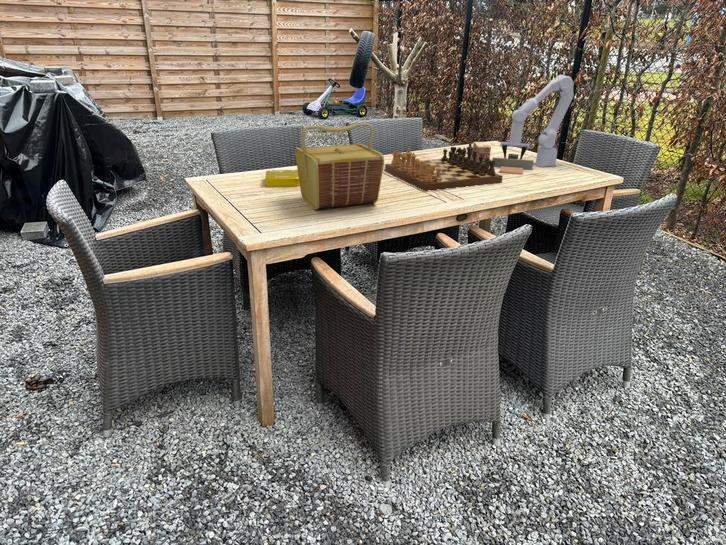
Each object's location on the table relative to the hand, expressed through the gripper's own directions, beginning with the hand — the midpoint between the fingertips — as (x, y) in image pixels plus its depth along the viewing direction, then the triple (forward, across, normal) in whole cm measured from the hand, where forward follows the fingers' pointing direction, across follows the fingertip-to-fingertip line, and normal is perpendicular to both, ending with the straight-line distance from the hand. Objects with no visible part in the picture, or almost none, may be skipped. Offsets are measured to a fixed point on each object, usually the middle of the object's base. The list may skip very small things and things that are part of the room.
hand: (512, 161), depth 268 cm
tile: (+2, 0, -16) cm, 16 cm away
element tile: (+3, -97, -73) cm, 121 cm away
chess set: (+3, -32, -37) cm, 49 cm away
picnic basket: (+2, -64, -92) cm, 112 cm away
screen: (+2, 0, -8) cm, 9 cm away
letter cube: (+2, 0, 0) cm, 2 cm away
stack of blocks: (+2, -17, -11) cm, 20 cm away
